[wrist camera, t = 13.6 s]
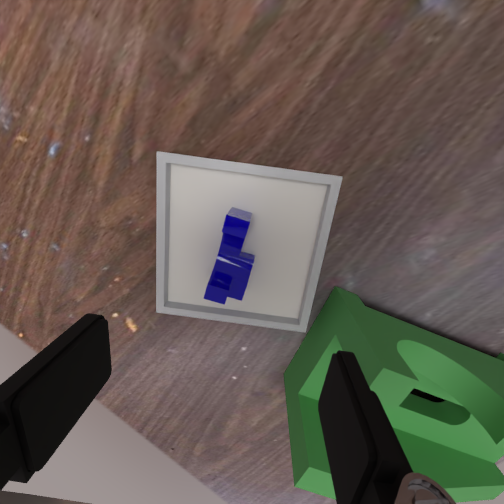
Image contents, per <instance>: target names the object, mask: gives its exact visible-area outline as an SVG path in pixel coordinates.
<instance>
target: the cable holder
mask: <svg viewBox="0 0 504 504" xmlns="http://www.w3.org/2000/svg"><path fill="white" fill-rule="evenodd" d="M251 216H252V213H250V212H247V211H244V210H241V209H237V208H234V207H232V208H231V209H230V210H229V212H228V213H227V214H226V218H225V221H224V225H223V229H222V232H223V235H222V240H221V244H220V248H219V252H218V255H217V259H216V262H215V265H214V268H213V271H212V274H211V276H210V279H209V282H208V284H207V287H206V291H205V295H204V298H203V299H206V300H210V301H213V302H217V303H220V304H224V305H225V302H226V299H227V297H230V298H233V299H237V300H240V301H242V299H243V296H244V293H245V290H246V287H247V284H248V280H249V277H250V273H251V270H252V266H253V263H254V259H255V255H252V254H249V253H246V252H242V251H241V249H242V246H243V243H244V240H245V237H246V234H247V231H248V228H249V224H250V221H251Z"/></svg>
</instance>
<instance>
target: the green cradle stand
mask: <svg viewBox="0 0 504 504" xmlns="http://www.w3.org/2000/svg"><path fill="white" fill-rule="evenodd" d="M338 350H341V351H348V352H353V353H354V354H355V356H356V359H357V361H358V363H359V365H360V367H361V370H362V372H363V374H364V376H365V379H366V381H367V383H368V385H369V387H370V390H371V391H374V392H375V393H376V394H377V396H378V398H379V400H380V402H381V404H382V406H383V408H384V410H385V413H386V415H387V417H388V419H389V421H390V423H391V425H392V428H393V430H394V432H395V434H396V436H397V438H398V440H399V442H400V445H401V447H402V449H403V451H404V453H405V455H406V457H407V460H408V462H409V464H410V466H411V468H412V470H413V472H414V473H420V474H423V475H425V476H428V477H429V478H431V479H432V480H434V481H436V482H437V483H438V484H439V485H440V486H441V487H443V488H444V489H445V490H446V491H447V492H448V494H449V495H450V496H451V497H452V498H453V500H454V501H455V502H466V501H479V500H489V499H490V500H491V499H494V498H496V497H497V496H498V495H499V494H501V493H502V492H503V491H504V475H503V474H502V473H501V471H500V470H499V469H498V467H497V466H496V465H495V462H497V461H498V460H499V459H500V458H501V457H502V456H503V455H504V354H503V353H500V354H499V355H498V356H497V357H496V358H494V357H492V356H489V355H487V354H484V353H482V352H479V351H477V350H474V349H472V348H469V347H467V346H464V345H462V344H459V343H457V342H454V341H452V340H449V339H447V338H444V337H442V336H439V335H437V334H434V333H432V332H429V331H427V330H424V329H421V328H419V327H416V326H414V325H411V324H409V323H406V322H404V321H401V320H399V319H396V318H394V317H391V316H389V315H386V314H384V313H381V312H379V311H376V310H374V309H371V308H369V307H366V306H365V305H364V304H363V302H362V301H361V300H360V298H359V297H358V296H357V295H356V294H354V293H351V292H349V291H346V290H344V289H341V288H339V287H336V286H335V287H334V289H333V291H332V292H331V294H330V296H329V297H328V299H327V301H326V303H325V304H324V306H323V308H322V309H321V311H320V313H319V315H318V316H317V318H316V320H315V321H314V323H313V325H312V327H311V328H310V330H309V332H308V333H307V335H306V337H305V339H304V340H303V342H302V344H301V345H300V347H299V349H298V351H297V352H296V354H295V356H294V357H293V359H292V361H291V363H290V364H289V366H288V368H287V369H286V371H285V373H284V383H285V393H286V403H287V414H288V424H289V435H290V445H291V455H292V466H293V476H294V486H295V487H298V488H301V489H304V490H307V491H310V492H313V493H316V494H319V495H323V496H326V497H329V498H332V499H335V500H336V496H335V491H334V486H333V481H332V477H331V472H330V467H329V462H328V457H327V452H326V447H325V442H324V437H323V432H322V427H321V422H320V417H319V412H318V401H319V398H320V394H321V391H322V387H323V384H324V381H325V377H326V374H327V371H328V367H329V364H330V360H331V357H332V354H333V353H337V351H338ZM414 388H415V389H418V390H421V391H423V392H426V393H429V394H431V395H434V396H437V397H439V398H442V399H445V400H446V401H444V402H439V403H436V402H432V401H429V400H426V399H424V398H421V397H418V396H416V395H413V394H410V392H411V391H412V390H413V389H414Z"/></svg>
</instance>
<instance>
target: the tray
mask: <svg viewBox="0 0 504 504" xmlns="http://www.w3.org/2000/svg"><path fill="white" fill-rule="evenodd" d="M342 178H343V177H342V176H335V175H327V174H320V173H313V172H305V171H298V170H291V169H283V168H276V167H269V166H261V165H254V164H247V163H239V162H232V161H225V160H217V159H210V158H203V157H195V156H188V155H181V154H173V153H166V152H158V151H157V227H156V312H157V313H165V314H172V315H180V316H187V317H194V318H202V319H209V320H216V321H224V322H231V323H238V324H246V325H253V326H260V327H268V328H275V329H283V330H290V331H297V332H305V333H306V329H307V325H308V321H309V317H310V312H311V308H312V304H313V300H314V296H315V291H316V287H317V283H318V279H319V275H320V270H321V266H322V262H323V258H324V254H325V249H326V245H327V241H328V237H329V232H330V228H331V224H332V220H333V216H334V211H335V207H336V203H337V199H338V195H339V190H340V186H341V182H342ZM232 207H234V208H237V209H241V210H244V211H247V212H250V213H252V216H251V221H250V224H249V228H248V231H247V234H246V237H245V240H244V243H243V246H242V249H241V251H242V252H246V253H249V254H252V255H255V259H254V263H253V266H252V270H251V273H250V277H249V280H248V284H247V287H246V290H245V293H244V296H243V299H242V301H240V300H237V299H233V298H230V297H227V299H226V302H225V305H224V304H220V303H217V302H213V301H210V300H206V299H203V298H204V295H205V291H206V287H207V284H208V282H209V279H210V276H211V274H212V271H213V268H214V265H215V262H216V259H217V255H218V252H219V248H220V244H221V240H222V235H223V232H222V229H223V225H224V221H225V218H226V214H227V213H228V212H229V210H230V209H231V208H232Z"/></svg>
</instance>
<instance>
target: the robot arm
mask: <svg viewBox="0 0 504 504" xmlns="http://www.w3.org/2000/svg"><path fill="white" fill-rule="evenodd" d="M111 371H112V368H111V356H110V343H109V330H108V321H107V320H105V318H104V316H102V315H97V314H90V313H89V314H86V315H84V316H83V317H82V318H81V319H79V320H78V321H77V322H76V323H75V324H73V325H72V326H71V327H70V328H69V329H67V330H66V331H65V332H64V333H63V334H61V335H60V336H59V337H58V338H57V339H55V340H54V341H53V342H52V343H50V344H49V345H48V346H47V347H46V348H44V349H43V350H42V351H41V352H40V353H38V354H37V355H36V356H35V357H34V358H33V359H31V360H30V361H29V362H28V363H27V364H25V365H24V366H23V367H21V368H20V369H19V370H18V371H17V372H15V373H14V374H13V375H12V376H11V377H9V378H8V379H7V380H6V381H5V382H3V383H2V384H1V385H0V504H89V503H83V502H76V501H70V500H63V499H57V498H50V497H43V496H37V495H30V494H23V493H15V492H7V491H2V488H3V487H4V486H5V485H6V484H7V482H8V481H9V480H10V481H16V482H22V483H27V482H28V481H29V479H30V478H31V477H32V475H33V474H34V473H35V471H39V470H41V469H42V468H43V466H44V465H45V464H46V463H47V461H48V460H49V459H50V457H51V456H52V455H53V453H54V452H55V450H56V449H57V448H58V447H59V445H60V444H61V442H62V441H63V440H64V439H65V437H66V436H67V434H68V433H69V432H70V430H71V429H72V428H73V426H74V425H75V424H76V422H77V421H78V419H79V418H80V417H81V415H82V414H83V413H84V411H85V410H86V409H87V407H88V406H89V405H90V403H91V402H92V401H93V399H94V398H95V397H96V395H97V394H98V393H99V391H100V390H101V389H102V387H103V386H104V385H105V383H106V382H107V380H108V379H109V377H110V375H111ZM318 412H319V417H320V422H321V427H322V432H323V437H324V442H325V447H326V452H327V457H328V462H329V467H330V472H331V477H332V481H333V486H334V491H335V496H336V501H337V504H456V503H455V501H454V500H453V498H452V497H451V496H450V495H449V494H448V492H447V491H446V490H445V489H444V488H443V487H441V486H440V485H439V484H438V483H437V482H436V481H434V480H432V479H431V478H429V477H428V476H425V475H423V474H420V473H414V472H413V470H412V468H411V466H410V464H409V462H408V460H407V457H406V455H405V453H404V451H403V449H402V447H401V445H400V442H399V440H398V438H397V436H396V434H395V432H394V430H393V428H392V425H391V423H390V421H389V419H388V417H387V415H386V413H385V410H384V408H383V406H382V404H381V402H380V400H379V398H378V396H377V394H376V393H375V392H374V391H371V390H370V387H369V385H368V383H367V381H366V379H365V376H364V374H363V372H362V370H361V367H360V365H359V363H358V361H357V359H356V356H355V354H354V353H353V352H348V351H341V350H338V351H337V353H333V354H332V357H331V360H330V364H329V367H328V371H327V374H326V377H325V381H324V384H323V387H322V391H321V394H320V398H319V401H318Z"/></svg>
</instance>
